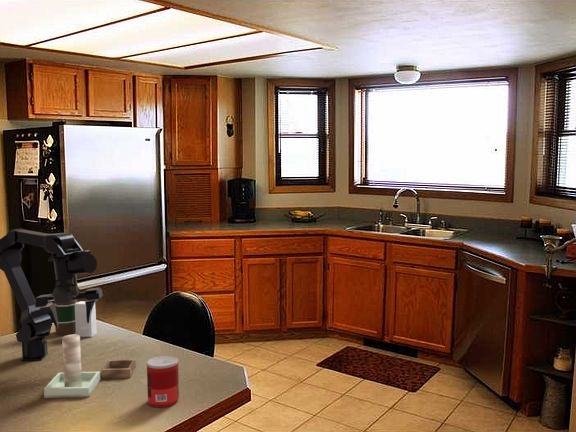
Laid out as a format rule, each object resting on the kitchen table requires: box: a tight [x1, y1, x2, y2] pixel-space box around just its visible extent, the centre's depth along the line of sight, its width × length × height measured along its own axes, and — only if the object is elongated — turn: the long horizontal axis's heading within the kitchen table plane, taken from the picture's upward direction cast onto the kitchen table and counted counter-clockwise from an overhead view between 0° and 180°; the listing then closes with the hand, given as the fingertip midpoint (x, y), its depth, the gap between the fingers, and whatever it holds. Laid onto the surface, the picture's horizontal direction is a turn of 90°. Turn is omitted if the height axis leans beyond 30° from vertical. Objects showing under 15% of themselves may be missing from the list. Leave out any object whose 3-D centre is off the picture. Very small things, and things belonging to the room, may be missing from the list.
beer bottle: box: [53, 296, 78, 336], centre depth 204 cm, size 8×8×24 cm
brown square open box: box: [101, 358, 137, 379], centre depth 166 cm, size 8×8×2 cm
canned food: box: [146, 355, 180, 408], centre depth 146 cm, size 8×8×11 cm
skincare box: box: [75, 300, 98, 338], centre depth 201 cm, size 6×4×12 cm
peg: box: [61, 334, 83, 387], centre depth 154 cm, size 4×4×14 cm
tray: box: [43, 371, 101, 399], centre depth 155 cm, size 12×12×2 cm
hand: (72, 325), depth 171 cm, fingers open, 9 cm apart
